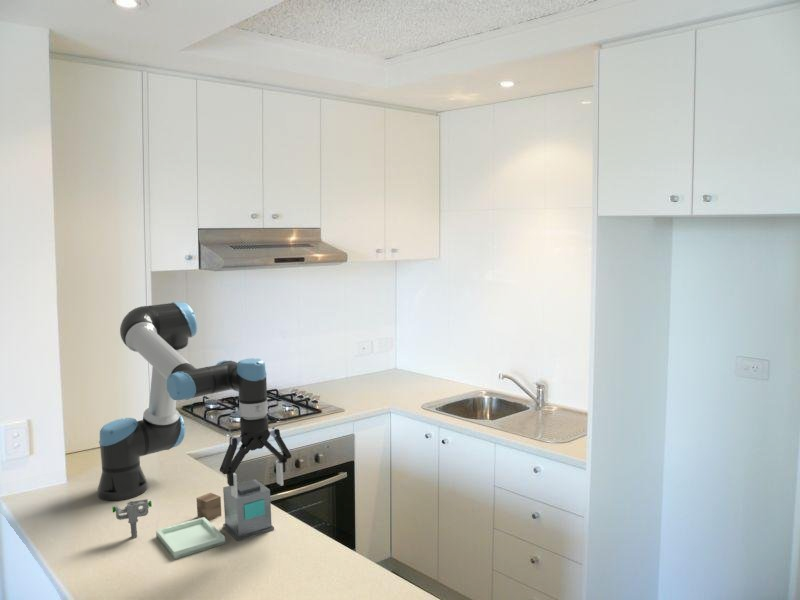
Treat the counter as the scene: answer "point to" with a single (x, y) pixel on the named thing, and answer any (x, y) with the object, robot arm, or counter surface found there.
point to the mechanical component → (133, 513)
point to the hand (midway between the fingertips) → (257, 490)
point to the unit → (247, 510)
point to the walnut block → (209, 506)
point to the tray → (190, 537)
